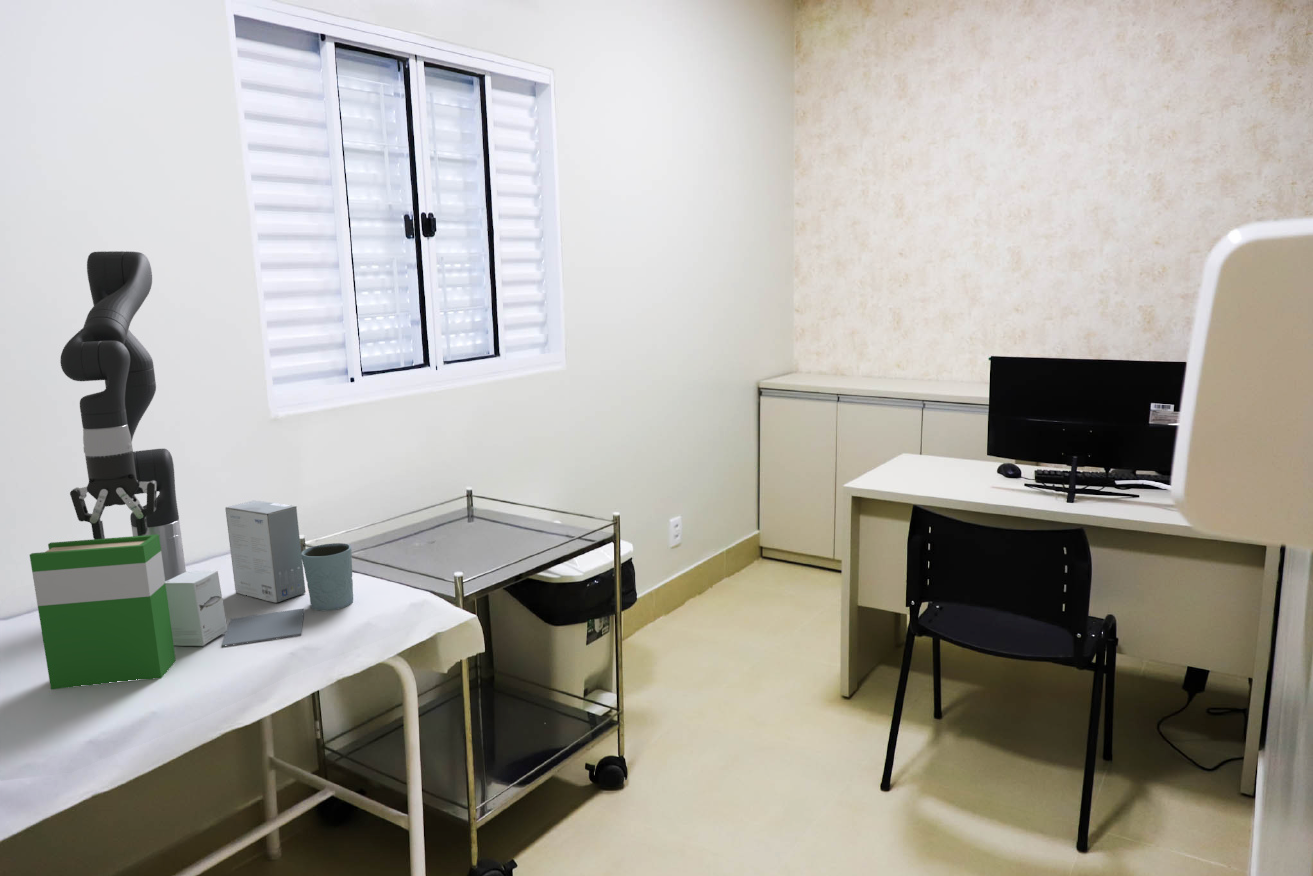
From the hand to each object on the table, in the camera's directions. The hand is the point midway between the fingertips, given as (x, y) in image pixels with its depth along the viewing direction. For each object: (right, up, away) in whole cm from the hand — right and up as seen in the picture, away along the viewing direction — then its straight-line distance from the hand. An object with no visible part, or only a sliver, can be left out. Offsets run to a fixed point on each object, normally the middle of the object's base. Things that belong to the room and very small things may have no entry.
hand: (121, 539), depth 168 cm
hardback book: (+4, -23, -8) cm, 25 cm away
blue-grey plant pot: (+30, -17, +25) cm, 43 cm away
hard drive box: (+14, -16, +33) cm, 39 cm away
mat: (+22, -19, +12) cm, 31 cm away
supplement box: (+11, -20, +7) cm, 24 cm away
